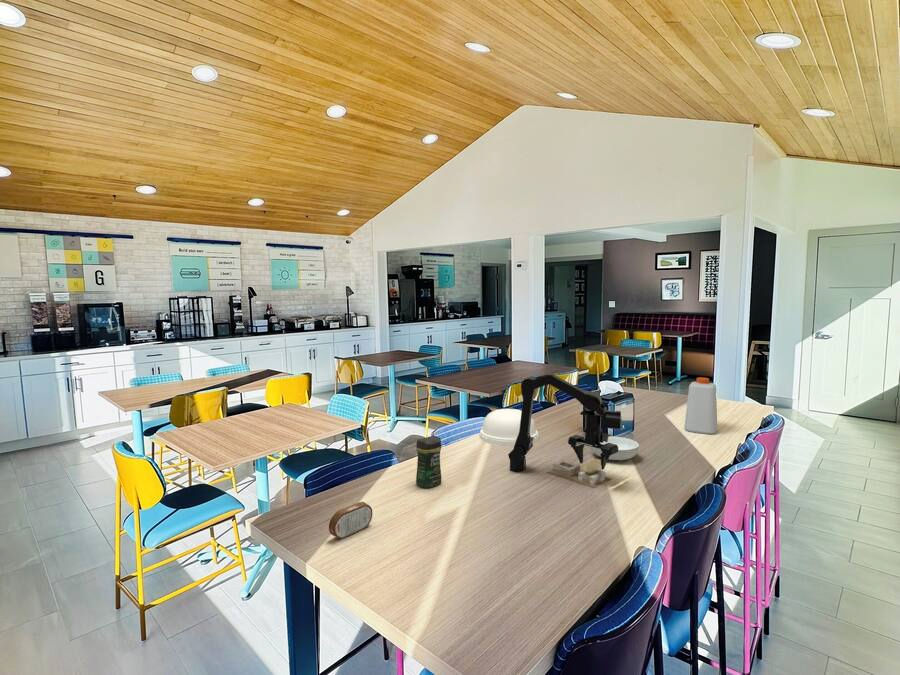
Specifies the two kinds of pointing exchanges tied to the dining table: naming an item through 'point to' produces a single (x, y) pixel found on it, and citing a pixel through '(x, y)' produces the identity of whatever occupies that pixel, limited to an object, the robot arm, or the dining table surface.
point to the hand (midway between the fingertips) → (592, 466)
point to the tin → (350, 520)
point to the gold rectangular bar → (592, 466)
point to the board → (578, 474)
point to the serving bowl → (620, 448)
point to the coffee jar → (428, 462)
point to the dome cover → (504, 427)
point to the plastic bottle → (701, 407)
